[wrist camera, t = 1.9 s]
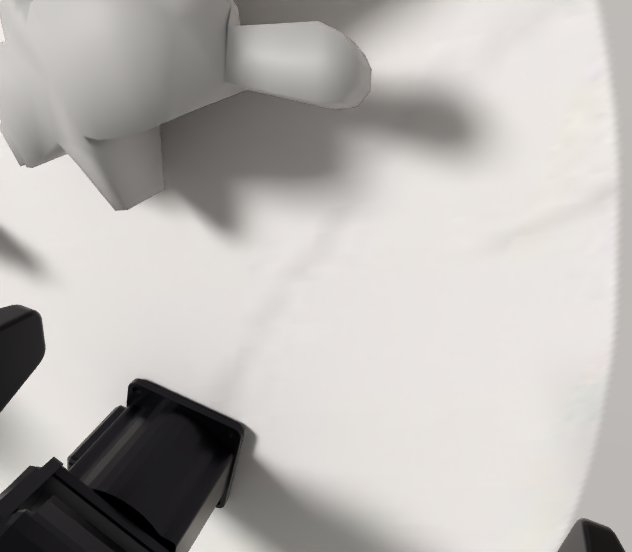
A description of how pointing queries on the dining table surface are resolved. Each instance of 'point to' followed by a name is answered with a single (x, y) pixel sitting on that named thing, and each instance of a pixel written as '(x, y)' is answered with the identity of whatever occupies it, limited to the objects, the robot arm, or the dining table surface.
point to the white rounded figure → (150, 78)
